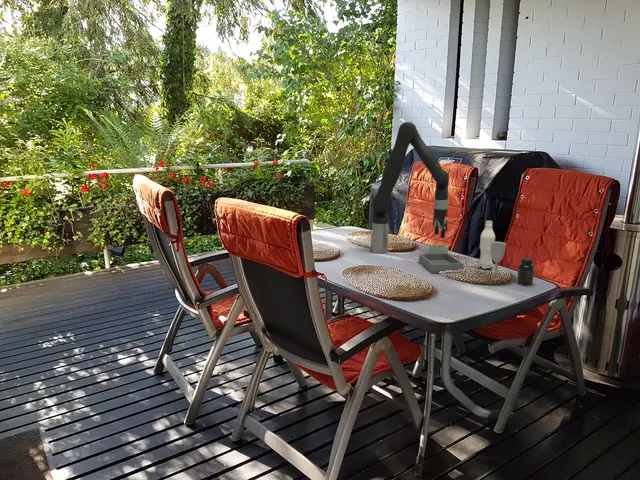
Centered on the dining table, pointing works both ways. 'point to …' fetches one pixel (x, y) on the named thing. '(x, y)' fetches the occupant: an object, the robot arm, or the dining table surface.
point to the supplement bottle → (525, 272)
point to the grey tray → (440, 262)
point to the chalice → (497, 253)
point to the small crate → (438, 249)
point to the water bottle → (486, 245)
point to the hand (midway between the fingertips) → (439, 236)
